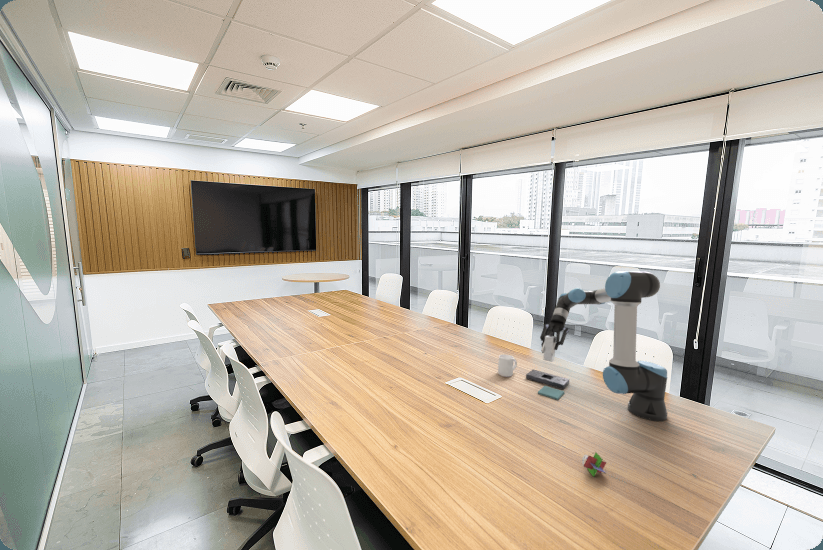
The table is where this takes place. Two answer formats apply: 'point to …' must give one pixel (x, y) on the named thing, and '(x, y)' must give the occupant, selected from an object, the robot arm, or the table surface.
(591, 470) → the geometric puzzle
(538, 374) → the block
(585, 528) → the table surface
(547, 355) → the steel peg
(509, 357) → the mug
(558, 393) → the teal mat
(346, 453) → the table surface
